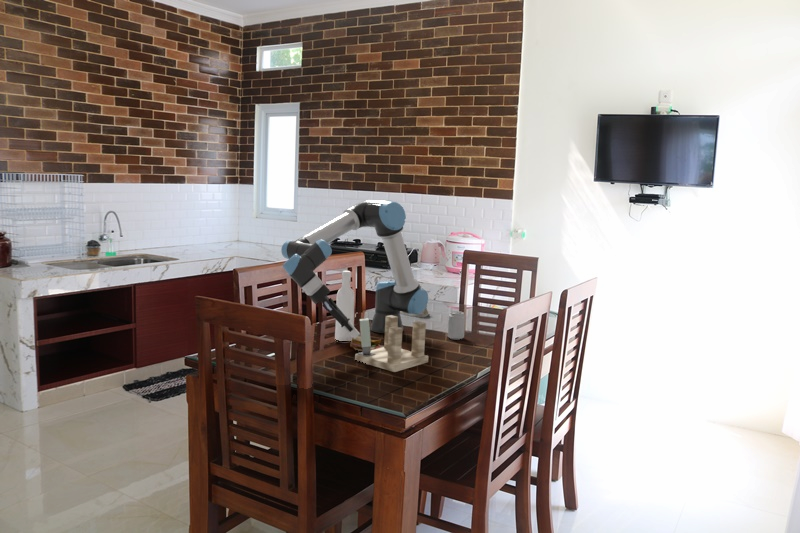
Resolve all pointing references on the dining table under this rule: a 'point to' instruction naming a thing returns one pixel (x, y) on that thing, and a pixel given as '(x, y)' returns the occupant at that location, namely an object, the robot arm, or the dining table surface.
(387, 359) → the stool
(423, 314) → the ceramic cottage
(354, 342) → the toy sandwich meal
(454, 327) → the can
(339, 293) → the bottle
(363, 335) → the hinged leg
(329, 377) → the dining table surface
